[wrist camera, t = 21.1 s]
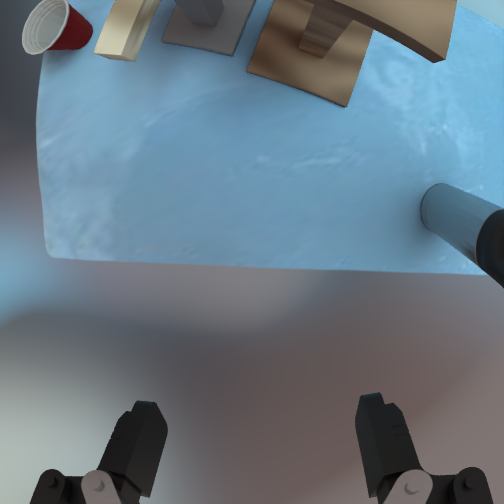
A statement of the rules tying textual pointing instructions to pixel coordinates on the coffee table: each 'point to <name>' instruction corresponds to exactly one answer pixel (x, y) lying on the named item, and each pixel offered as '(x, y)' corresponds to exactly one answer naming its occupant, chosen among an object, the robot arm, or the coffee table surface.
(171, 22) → the charcoal stand
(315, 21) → the walnut stand
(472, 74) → the coffee table surface
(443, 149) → the coffee table surface
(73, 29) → the plastic cup
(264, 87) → the coffee table surface
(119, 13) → the birch block
